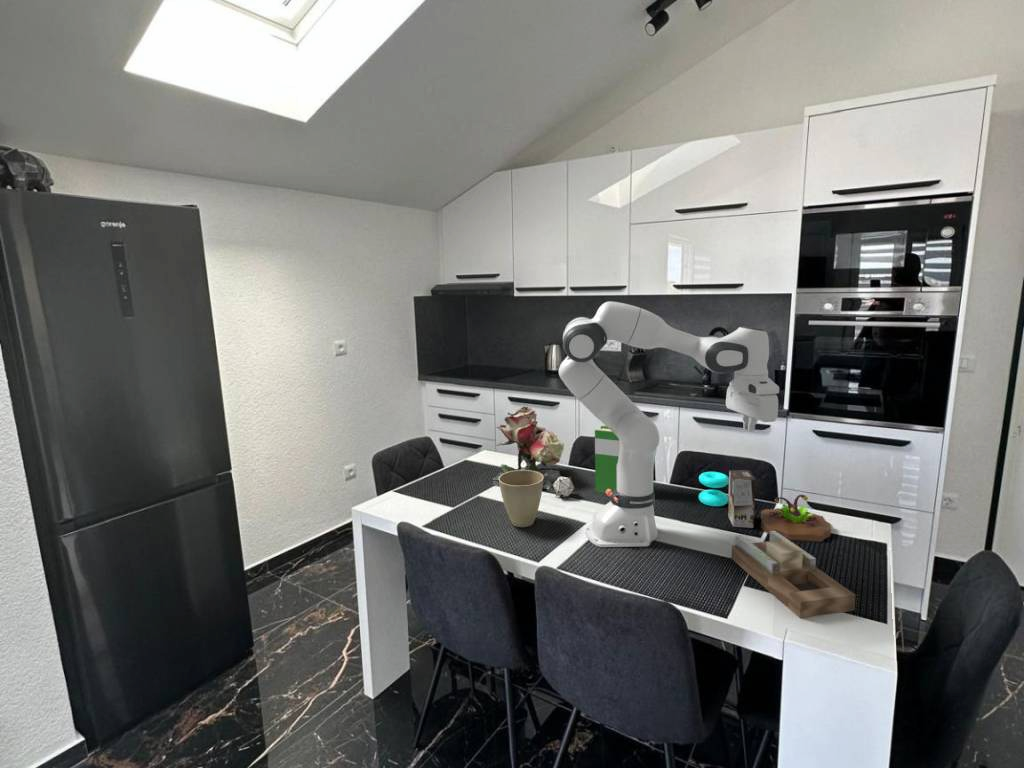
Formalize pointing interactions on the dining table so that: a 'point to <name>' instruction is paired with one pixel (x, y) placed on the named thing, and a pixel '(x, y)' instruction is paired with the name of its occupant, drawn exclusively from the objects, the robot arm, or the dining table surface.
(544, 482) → the rose bouquet
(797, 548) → the maple block
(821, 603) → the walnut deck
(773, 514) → the plant
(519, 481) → the plant pot
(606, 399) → the robot arm
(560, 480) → the game die
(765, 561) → the lane walls
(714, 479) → the donuts
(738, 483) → the coffee box
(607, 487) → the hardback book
